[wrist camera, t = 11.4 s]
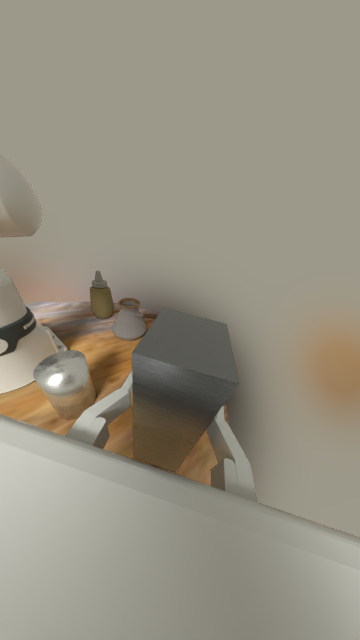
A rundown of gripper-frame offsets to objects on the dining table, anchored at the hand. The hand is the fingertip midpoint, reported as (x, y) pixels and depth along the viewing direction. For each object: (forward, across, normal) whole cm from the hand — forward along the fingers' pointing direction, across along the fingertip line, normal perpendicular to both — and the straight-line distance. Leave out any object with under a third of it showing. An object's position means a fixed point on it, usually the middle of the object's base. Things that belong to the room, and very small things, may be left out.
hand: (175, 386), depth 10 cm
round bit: (+5, -19, -24) cm, 31 cm away
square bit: (-1, 0, -8) cm, 8 cm away
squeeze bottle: (+36, -35, -24) cm, 56 cm away
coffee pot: (+27, -16, -24) cm, 39 cm away
